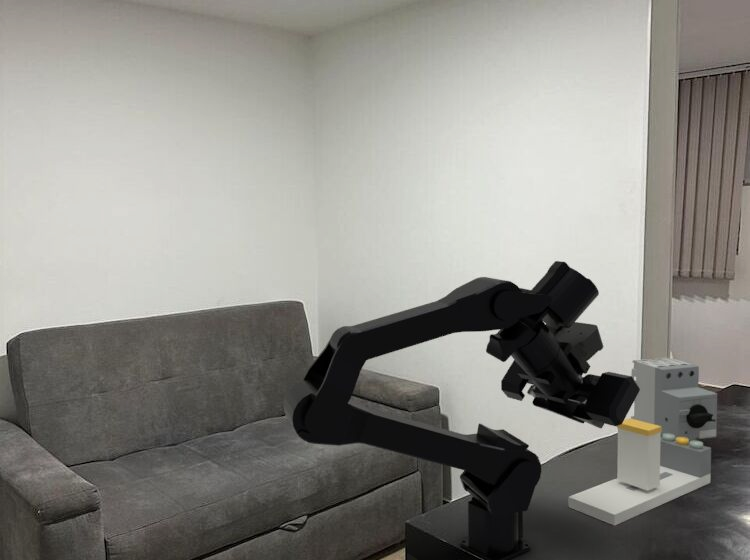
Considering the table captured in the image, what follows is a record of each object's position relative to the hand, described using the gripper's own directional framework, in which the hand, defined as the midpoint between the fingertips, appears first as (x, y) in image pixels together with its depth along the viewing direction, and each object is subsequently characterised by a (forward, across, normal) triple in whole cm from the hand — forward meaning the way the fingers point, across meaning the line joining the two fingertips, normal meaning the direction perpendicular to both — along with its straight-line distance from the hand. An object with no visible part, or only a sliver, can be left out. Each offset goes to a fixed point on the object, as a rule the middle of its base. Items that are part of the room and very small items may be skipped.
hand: (593, 422), depth 95 cm
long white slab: (+17, 0, +1) cm, 17 cm away
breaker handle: (+15, 0, 0) cm, 15 cm away
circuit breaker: (+32, +8, -14) cm, 36 cm away
